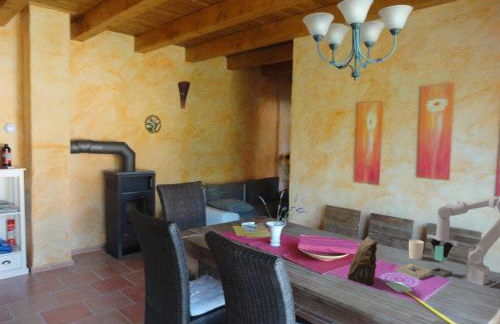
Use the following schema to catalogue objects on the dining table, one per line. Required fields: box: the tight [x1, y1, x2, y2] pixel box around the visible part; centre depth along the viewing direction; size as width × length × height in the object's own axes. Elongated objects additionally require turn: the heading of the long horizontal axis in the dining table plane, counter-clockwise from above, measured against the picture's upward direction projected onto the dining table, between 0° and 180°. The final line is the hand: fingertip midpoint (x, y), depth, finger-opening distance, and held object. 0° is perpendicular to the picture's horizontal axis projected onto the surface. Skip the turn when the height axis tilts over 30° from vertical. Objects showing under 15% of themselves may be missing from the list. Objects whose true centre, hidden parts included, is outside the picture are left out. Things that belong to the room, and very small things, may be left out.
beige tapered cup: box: [408, 239, 425, 260], centre depth 208 cm, size 8×8×10 cm
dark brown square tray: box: [430, 267, 455, 279], centre depth 185 cm, size 9×9×2 cm
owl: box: [346, 235, 378, 287], centre depth 172 cm, size 13×13×20 cm
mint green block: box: [434, 243, 449, 263], centre depth 184 cm, size 4×5×7 cm
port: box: [396, 263, 433, 280], centre depth 184 cm, size 12×12×3 cm
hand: (441, 255), depth 184 cm, fingers closed on mint green block, 4 cm apart
